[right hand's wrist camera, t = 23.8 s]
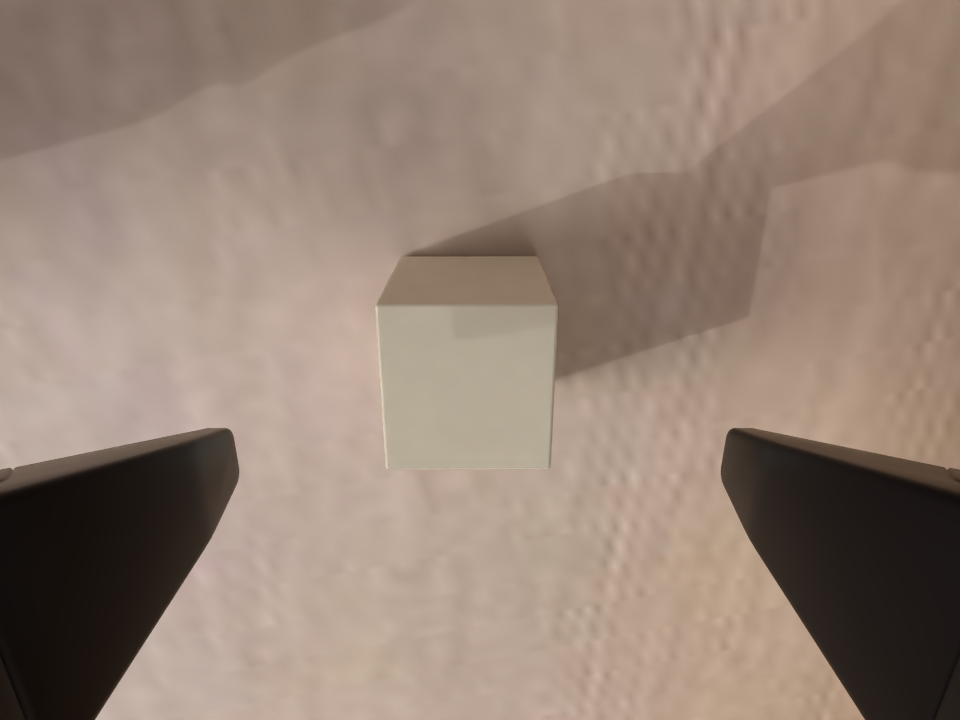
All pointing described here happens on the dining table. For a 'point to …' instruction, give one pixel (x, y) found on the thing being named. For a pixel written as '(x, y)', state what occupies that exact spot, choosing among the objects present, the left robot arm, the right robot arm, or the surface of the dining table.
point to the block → (467, 363)
